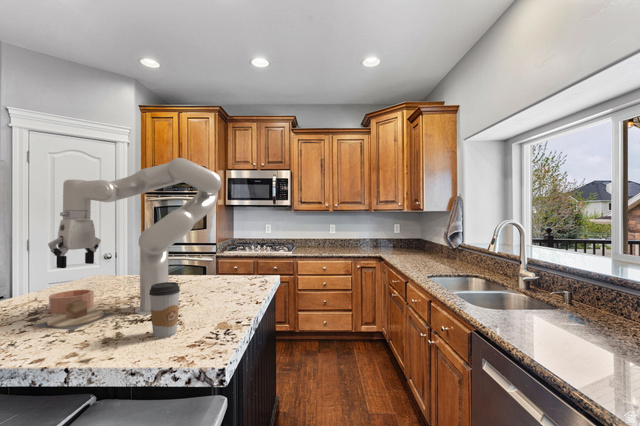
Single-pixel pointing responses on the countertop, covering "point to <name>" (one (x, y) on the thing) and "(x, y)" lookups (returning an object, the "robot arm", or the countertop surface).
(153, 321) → the coffee cup
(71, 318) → the lid
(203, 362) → the countertop surface
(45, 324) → the mat
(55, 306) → the bowl
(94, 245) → the robot arm
